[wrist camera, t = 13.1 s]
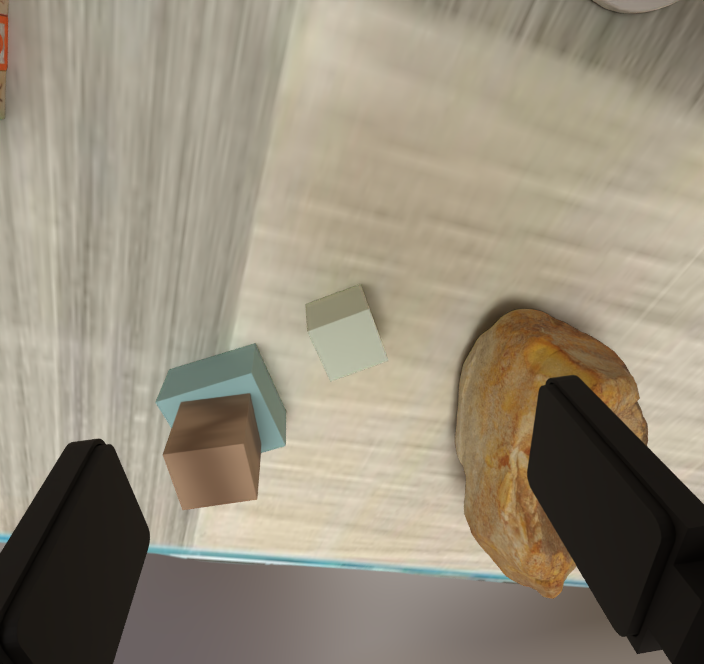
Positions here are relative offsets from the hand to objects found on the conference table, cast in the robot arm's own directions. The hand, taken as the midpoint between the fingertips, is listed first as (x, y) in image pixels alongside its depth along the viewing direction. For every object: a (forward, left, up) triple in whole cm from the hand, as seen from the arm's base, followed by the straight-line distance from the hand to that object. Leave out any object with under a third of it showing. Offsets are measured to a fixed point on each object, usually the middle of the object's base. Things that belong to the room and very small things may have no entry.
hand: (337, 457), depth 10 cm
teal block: (+9, +17, -29) cm, 35 cm away
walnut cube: (+9, +17, -24) cm, 30 cm away
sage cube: (-2, +11, -28) cm, 31 cm away
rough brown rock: (-20, +23, -29) cm, 42 cm away
